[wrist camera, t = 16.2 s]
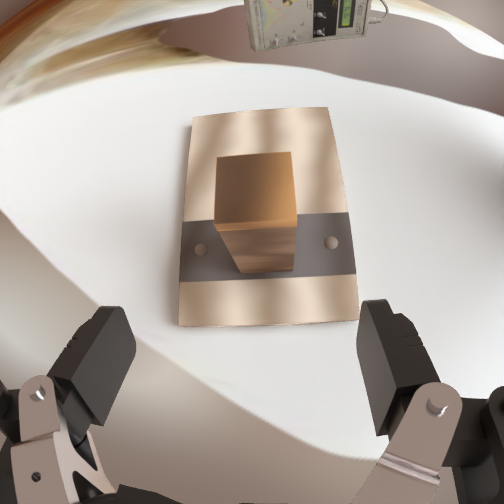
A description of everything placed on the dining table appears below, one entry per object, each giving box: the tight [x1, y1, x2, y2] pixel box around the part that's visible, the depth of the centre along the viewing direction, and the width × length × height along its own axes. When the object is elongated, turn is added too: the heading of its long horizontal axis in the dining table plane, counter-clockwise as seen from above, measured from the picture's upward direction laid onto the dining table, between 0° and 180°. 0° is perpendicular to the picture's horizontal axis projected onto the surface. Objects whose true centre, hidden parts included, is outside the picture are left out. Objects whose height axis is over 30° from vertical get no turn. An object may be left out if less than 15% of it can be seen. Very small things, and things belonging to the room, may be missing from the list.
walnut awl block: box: [214, 152, 297, 273], centre depth 23 cm, size 5×5×11 cm
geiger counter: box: [244, 0, 388, 52], centre depth 34 cm, size 14×6×25 cm
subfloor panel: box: [178, 107, 360, 327], centre depth 31 cm, size 16×24×2 cm, turn 1°
